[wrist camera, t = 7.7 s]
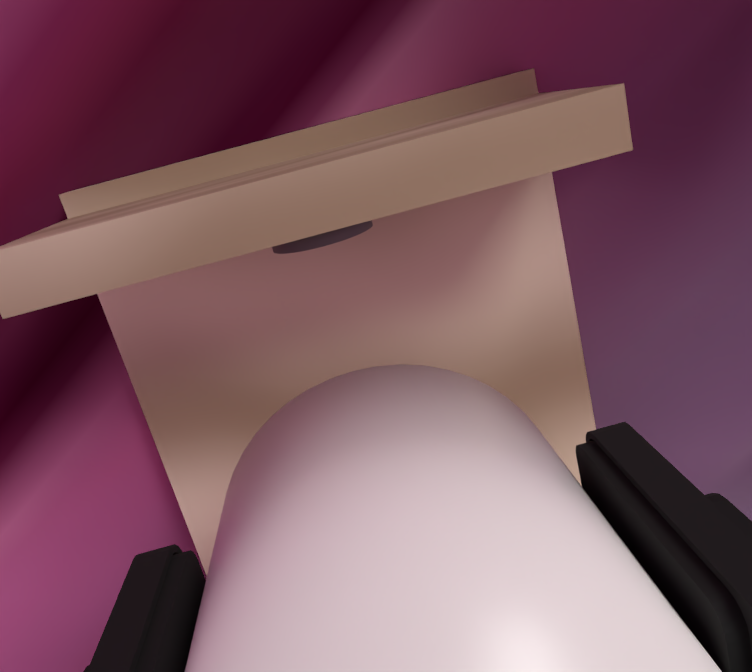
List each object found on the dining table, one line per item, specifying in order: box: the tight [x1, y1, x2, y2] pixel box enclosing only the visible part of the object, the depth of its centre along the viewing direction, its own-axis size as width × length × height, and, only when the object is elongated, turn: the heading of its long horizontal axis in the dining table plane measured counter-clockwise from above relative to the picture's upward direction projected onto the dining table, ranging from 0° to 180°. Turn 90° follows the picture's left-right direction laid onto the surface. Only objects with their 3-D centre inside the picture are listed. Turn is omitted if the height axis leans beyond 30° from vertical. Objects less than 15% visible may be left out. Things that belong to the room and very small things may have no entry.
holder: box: [0, 68, 633, 576], centre depth 15 cm, size 12×10×5 cm
